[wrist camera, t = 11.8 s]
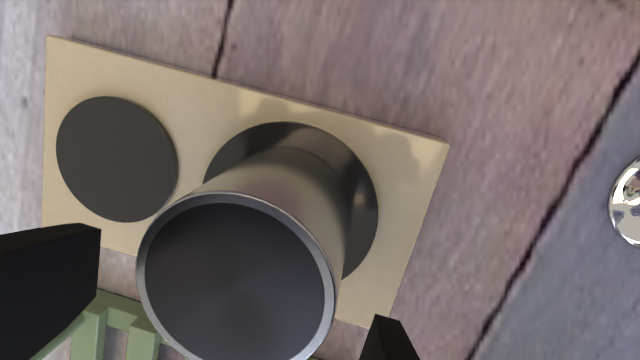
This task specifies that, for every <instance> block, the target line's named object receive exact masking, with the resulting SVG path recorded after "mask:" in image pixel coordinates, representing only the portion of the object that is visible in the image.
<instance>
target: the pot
mask: <svg viewBox="0 0 640 360" xmlns="http://www.w3.org/2000/svg"><path fill="white" fill-rule="evenodd" d="M350 224H351V206H350V201H349V197H348V194H347V191H346V189H345V187H344V185H343V183H342V182H341V180H340V179H339V177H338V176H337V174H336V173H335V172H334V171H333V170H332V169H331V168H330V167H329V166H328V165H327V164H326V163H324V162H323V161H322V160H320V159H319V158H317V157H315V156H313V155H311V154H309V153H307V152H304V151H301V150H297V149H292V148H271V149H266V150H262V151H259V152H257V153H255V154H253V155H251V156H249V157H247V158H246V159H244V160H242V161H241V162H239V163H237V164H236V165H234V166H232V167H231V168H229V169H227V170H226V171H224V172H223V173H221V174H219V175H218V176H216V177H214V178H213V179H211V180H209V181H208V182H206V183H205V184H203V185H201V186H200V187H198V188H196V189H195V190H193V191H191V192H190V193H188V194H186V195H185V196H183V197H182V198H180V199H178V200H177V201H175V202H173V203H172V204H171V205H169V206H168V207H166V208H165V209H163V210H162V211H161V212H160V213H159V214H158V215H157V216H156V217H155V218H154V220H153V221H152V222H151V224H150V225H149V226H148V228H147V230H146V232H145V233H144V235H143V237H142V240H141V243H140V245H139V248H138V252H137V258H136V270H135V274H136V285H137V289H138V293H139V297H140V300H141V303H142V305H143V308H144V310H145V312H146V314H147V316H148V318H149V319H150V321H151V322H152V324H153V326H154V327H155V329H156V330H157V331H158V332H159V333H160V335H161V336H162V337H163V338H164V339H165V340H166V341H167V342H168V343H169V344H170V345H171V346H172V347H173V348H174V349H175V350H177V351H178V352H179V353H180V354H182V355H183V356H185V357H186V358H188V359H189V360H307V359H308V358H309V357H310V356H311V355H312V354H313V353H314V352H316V350H317V349H318V348H319V347H320V346H321V344H322V343H323V342H324V340H325V338H326V337H327V335H328V333H329V332H330V329H331V326H332V324H333V321H334V317H335V313H336V308H337V302H338V296H339V290H340V284H341V278H342V272H343V266H344V260H345V254H346V248H347V242H348V236H349V230H350Z"/></svg>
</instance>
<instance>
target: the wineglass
mask: <svg viewBox="0 0 640 360" xmlns="http://www.w3.org/2000/svg"><path fill="white" fill-rule="evenodd" d="M608 212H609V218H610V221H611V223H612V226H613V228H614V229H615V230H616V232H617V233H618V234H619V236H621V237H622V238H623V239H624V240H625V241H627V242H628V243H630V244H632V245H634V246H636V247H638V248H640V157H639V158H638V159H636V160H635V161H633V162H632V163H631V164H630V165H629V166H628V167H627V168H626V169H624V171H623V172H622V173H621V174H620V176H619V177H618V179H617V180H616V181H615V183H614V185H613V188H612V190H611V193H610V196H609V202H608Z"/></svg>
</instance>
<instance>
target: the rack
mask: <svg viewBox="0 0 640 360" xmlns="http://www.w3.org/2000/svg"><path fill="white" fill-rule="evenodd" d="M106 325H107V326H111V327H114V328H117V329H120V330H123V331H126V332H129V333H128V342H127V351H126V359H125V360H158V354H159V347H160V343H163V344H166V345H169V346H171V345H170V344H169V343H168V342H167V341H166V340H165V339H164V338H163V337H162V336H161V335H160V333H159V332H158V331H157V330H156V329H155V327H154V326H153V324H152V322H151V321H150V319H149V318H148V316H147V314H146V312H145V310H144V308H143V305H142V303H140V302H137V301H134V300H131V299H128V298H125V297H122V296H118V295H115V294H112V293H109V292H106V291H103V290H100V289H97V292H96V297H95V298H94V299H93V301H92V302H91V303H90V304H89V305H88V306H87V307H86V308H85V309H84V310H83V311H82V313H81V314H80V315H79V316H78V317H77V318H76V319H75V320H74V321H73V322H72V323H71V324H70V325H69V326H68V327H67V328H66V329H65V330H64V331H63V332H62V333H60V334H59V335H58V336H57V337H56V338H55V339H53V340H52V341H51V342H50V343H49V344H47V345H46V346H45V347H44V348H43V349H41V350H40V351H39V352H38V353H37V354H36V355H34V356H33V357H32V358H31V359H29V360H42V359H43V358H44V357H45V356H47V355H48V354H49V353H50V352H51V351H53V350H54V349H55V348H56V347H57V346H58V345H60V344H61V343H62V342H63V341H64V340H66V339H67V338H68V337H69V336H70V335H72V336H71V353H70V360H103V352H104V341H105V330H106ZM184 360H189V359H188V358H186V357H185V359H184ZM307 360H319V359H316V358H313V357H309V358H308V359H307Z"/></svg>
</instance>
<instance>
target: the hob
mask: <svg viewBox="0 0 640 360" xmlns="http://www.w3.org/2000/svg"><path fill="white" fill-rule="evenodd" d="M450 146H451V144H450V143H449V142H448V141H447V140H445V139H443V138H440V137H436V136H432V135H429V134H425V133H421V132H417V131H414V130H410V129H406V128H403V127H399V126H395V125H391V124H388V123H384V122H380V121H377V120H373V119H369V118H366V117H362V116H358V115H354V114H351V113H347V112H343V111H340V110H336V109H332V108H328V107H325V106H321V105H317V104H314V103H310V102H306V101H302V100H299V99H295V98H291V97H288V96H284V95H280V94H277V93H273V92H269V91H265V90H262V89H258V88H254V87H251V86H247V85H243V84H239V83H236V82H232V81H228V80H225V79H221V78H217V77H213V76H210V75H206V74H202V73H199V72H195V71H191V70H188V69H184V68H180V67H176V66H173V65H169V64H165V63H162V62H158V61H154V60H150V59H147V58H143V57H139V56H136V55H132V54H128V53H125V52H121V51H117V50H113V49H110V48H106V47H102V46H99V45H95V44H91V43H87V42H84V41H80V40H76V39H73V38H69V37H62V36H55V35H47V36H46V63H45V102H44V141H43V179H42V218H41V227H48V226H54V225H61V224H69V223H83V224H86V225H90V226H93V227H96V228H99V229H102V231H101V243H100V246H102V247H105V248H108V249H111V250H115V251H118V252H121V253H124V254H128V255H131V256H134V257H137V252H138V248H139V245H140V243H141V240H142V237H143V235H144V233H145V232H146V230H147V228H148V226H149V225H150V224H151V222H152V221H153V220H154V218H155V217H156V216H157V215H158V214H159V213H160V212H161V211H162V210H163V209H165V208H166V207H168V206H169V205H171V204H172V203H173V202H175V201H177V200H178V199H180V198H182V197H183V196H185V195H186V194H188V193H190V192H191V191H193V190H195V189H196V188H198V187H200V186H201V185H203V184H205V183H206V182H208V181H209V180H211V179H213V178H214V177H216V176H218V175H219V174H221V173H223V172H224V171H226V170H227V169H229V168H231V167H232V166H234V165H236V164H237V163H239V162H241V161H242V160H244V159H246V158H247V157H249V156H251V155H253V154H255V153H257V152H259V151H262V150H266V149H271V148H292V149H297V150H301V151H304V152H307V153H309V154H311V155H313V156H315V157H317V158H319V159H320V160H322V161H323V162H324V163H326V164H327V165H328V166H329V167H330V168H331V169H332V170H333V171H334V172H335V173H336V174H337V176H338V177H339V179H340V180H341V182H342V183H343V185H344V187H345V189H346V191H347V194H348V197H349V201H350V206H351V224H350V230H349V236H348V242H347V248H346V254H345V260H344V266H343V272H342V278H341V284H340V290H339V296H338V302H337V308H336V313H335V317H334V319H337V320H340V321H344V322H347V323H350V324H353V325H356V326H360V327H363V328H366V329H369V330H370V327H371V324H372V321H373V318H374V315H375V314H379V315H382V316H385V317H389V315H390V312H391V309H392V306H393V304H394V301H395V298H396V295H397V292H398V290H399V287H400V284H401V281H402V279H403V276H404V273H405V270H406V268H407V265H408V262H409V259H410V257H411V254H412V251H413V248H414V246H415V243H416V240H417V237H418V235H419V232H420V229H421V226H422V224H423V221H424V218H425V215H426V213H427V210H428V207H429V204H430V202H431V199H432V196H433V193H434V191H435V188H436V185H437V182H438V179H439V177H440V174H441V171H442V168H443V166H444V163H445V160H446V157H447V155H448V152H449V149H450Z"/></svg>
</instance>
